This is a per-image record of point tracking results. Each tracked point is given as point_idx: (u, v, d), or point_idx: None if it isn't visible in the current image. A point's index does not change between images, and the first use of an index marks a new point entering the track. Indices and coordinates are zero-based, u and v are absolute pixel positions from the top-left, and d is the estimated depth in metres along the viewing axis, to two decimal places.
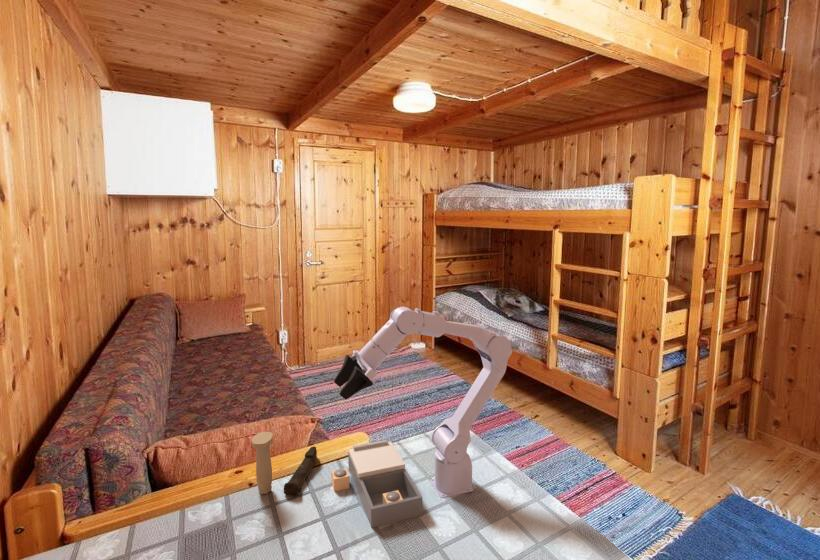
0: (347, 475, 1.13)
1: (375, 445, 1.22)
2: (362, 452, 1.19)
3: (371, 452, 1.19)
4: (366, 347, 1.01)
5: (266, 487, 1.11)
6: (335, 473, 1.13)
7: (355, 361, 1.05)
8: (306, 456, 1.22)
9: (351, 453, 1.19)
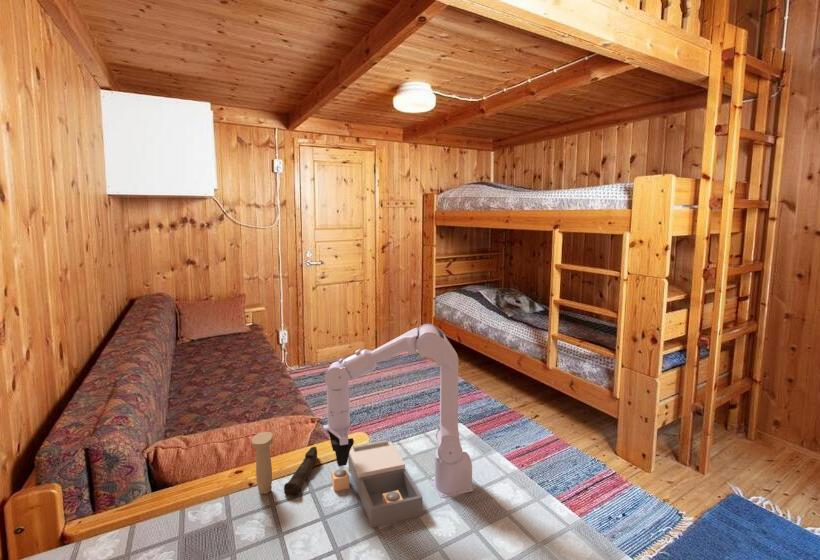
0: (347, 475, 1.13)
1: (375, 445, 1.22)
2: (362, 452, 1.19)
3: (371, 452, 1.19)
4: (328, 418, 1.10)
5: (266, 487, 1.11)
6: (335, 473, 1.13)
7: None
8: (306, 456, 1.22)
9: (351, 453, 1.19)
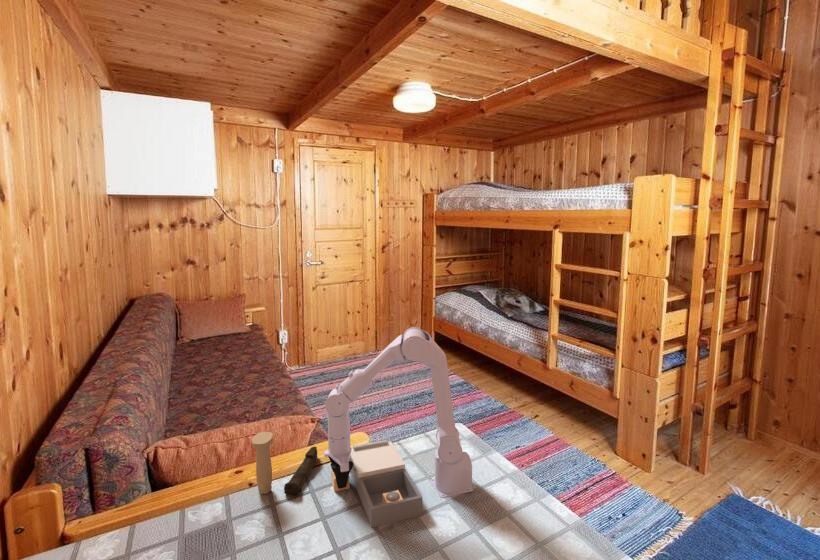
0: None
1: (375, 445, 1.22)
2: (362, 452, 1.19)
3: (371, 452, 1.19)
4: (329, 444, 1.11)
5: (266, 487, 1.11)
6: None
7: None
8: (306, 456, 1.22)
9: (351, 453, 1.19)
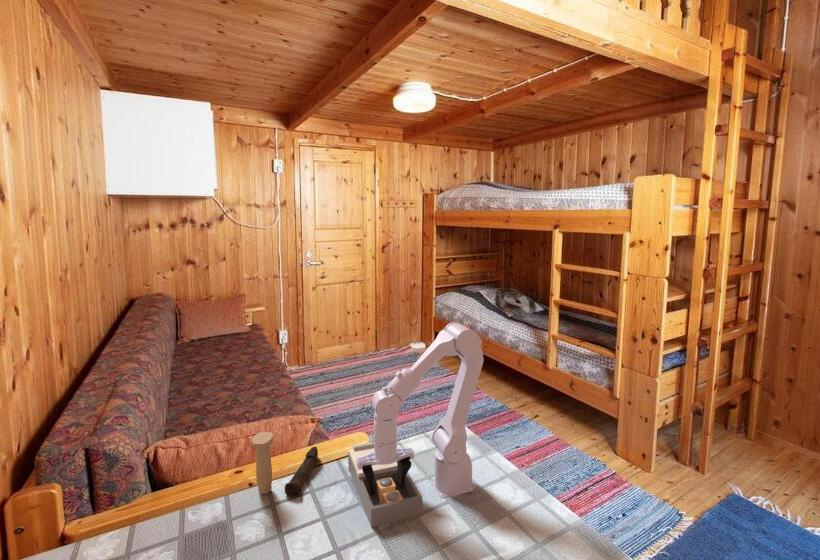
0: (381, 487, 1.07)
1: None
2: (362, 452, 1.19)
3: (371, 452, 1.19)
4: None
5: (266, 487, 1.11)
6: (384, 478, 1.10)
7: None
8: (307, 456, 1.22)
9: (351, 453, 1.19)
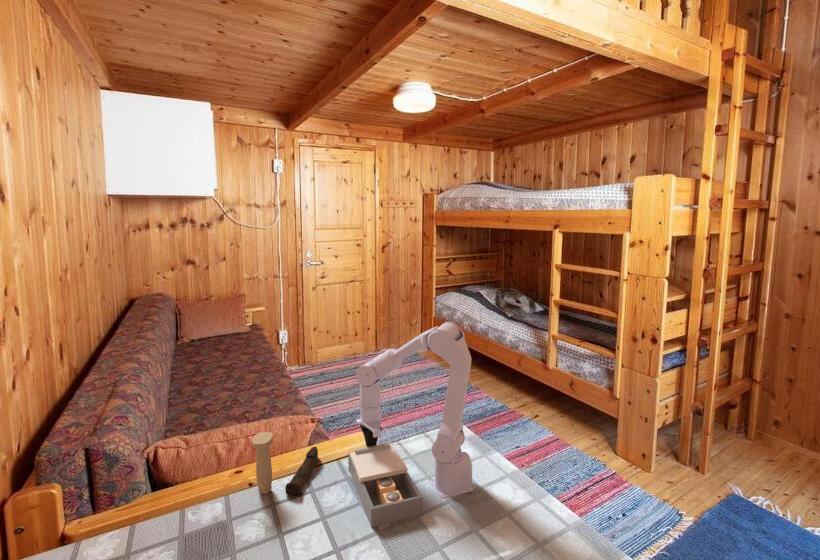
0: (381, 487, 1.07)
1: (377, 448, 1.21)
2: (364, 456, 1.18)
3: (372, 456, 1.17)
4: (361, 413, 1.19)
5: (266, 487, 1.11)
6: (384, 478, 1.10)
7: None
8: (307, 456, 1.22)
9: (352, 457, 1.17)
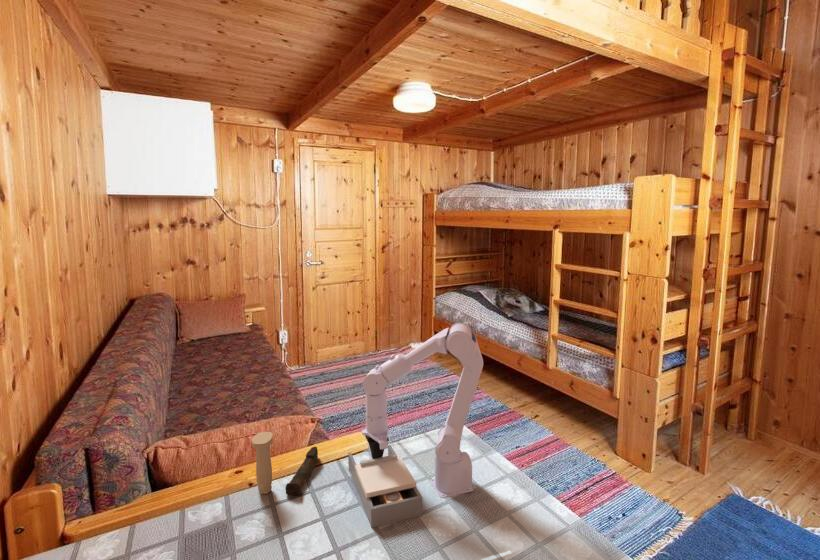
0: None
1: (383, 460, 1.14)
2: (370, 468, 1.11)
3: (379, 469, 1.11)
4: (367, 423, 1.13)
5: (266, 487, 1.11)
6: None
7: None
8: (307, 456, 1.22)
9: (358, 469, 1.11)
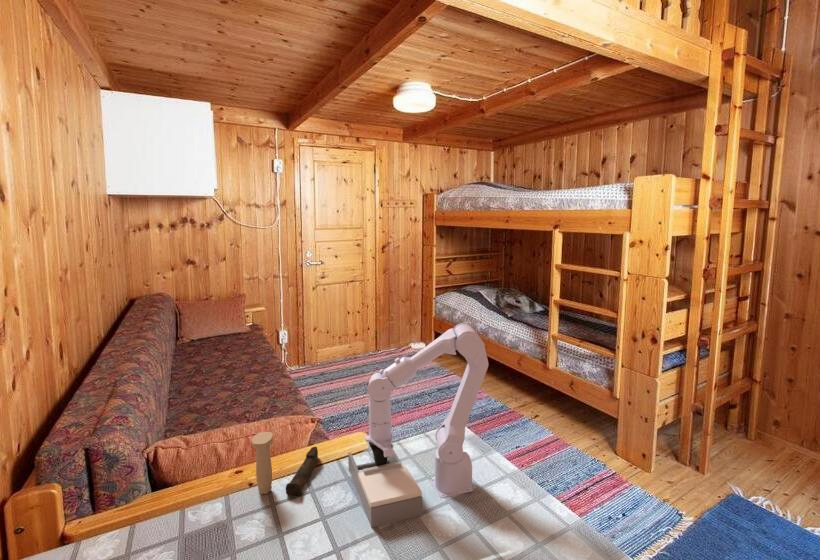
0: None
1: (387, 468, 1.11)
2: (373, 476, 1.08)
3: (383, 477, 1.08)
4: (370, 429, 1.09)
5: (266, 487, 1.11)
6: None
7: None
8: (307, 456, 1.22)
9: (361, 477, 1.07)
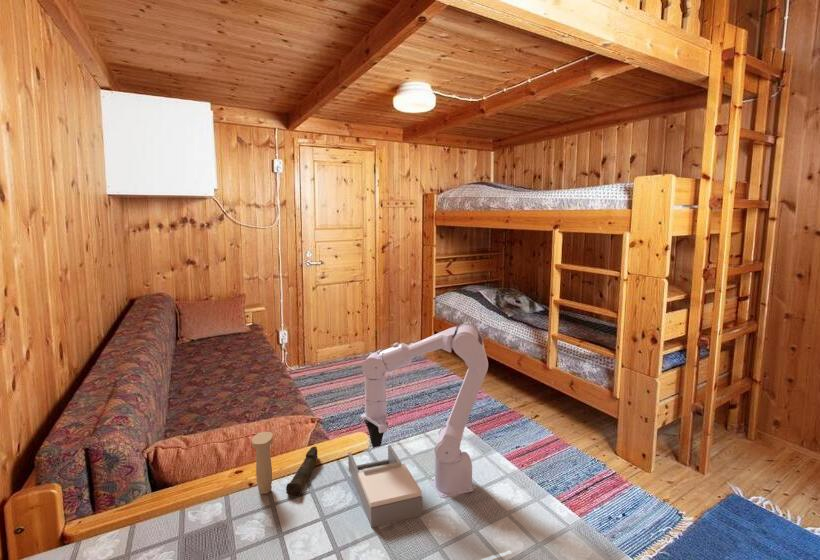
0: None
1: (387, 468, 1.11)
2: (373, 476, 1.08)
3: (383, 477, 1.08)
4: (366, 407, 1.13)
5: (266, 487, 1.11)
6: None
7: None
8: (307, 456, 1.22)
9: (361, 477, 1.07)
